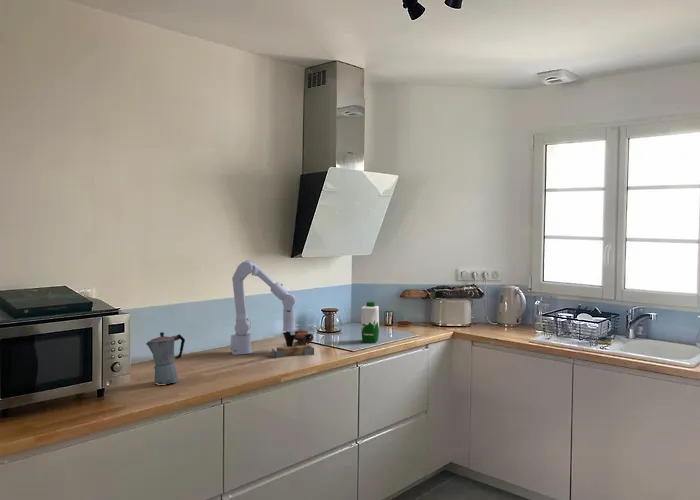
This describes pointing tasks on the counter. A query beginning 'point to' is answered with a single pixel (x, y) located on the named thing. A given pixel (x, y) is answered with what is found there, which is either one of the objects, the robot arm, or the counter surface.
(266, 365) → the counter surface
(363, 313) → the milk carton
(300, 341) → the pottery mug
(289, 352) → the slat
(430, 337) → the counter surface
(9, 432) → the counter surface
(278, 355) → the cap
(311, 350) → the cap
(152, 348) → the moka pot
